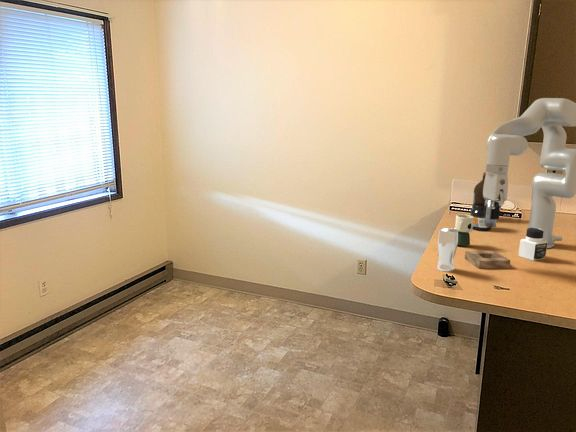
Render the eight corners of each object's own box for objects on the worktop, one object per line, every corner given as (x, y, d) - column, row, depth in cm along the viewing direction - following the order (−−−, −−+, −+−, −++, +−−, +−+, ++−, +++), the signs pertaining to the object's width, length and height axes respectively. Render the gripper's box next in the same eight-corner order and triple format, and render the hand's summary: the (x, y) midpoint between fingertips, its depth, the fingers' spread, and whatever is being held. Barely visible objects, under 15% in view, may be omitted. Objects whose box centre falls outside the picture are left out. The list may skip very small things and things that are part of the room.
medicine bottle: (533, 261, 195) (537, 231, 192) (518, 256, 201) (521, 227, 198) (545, 258, 198) (549, 229, 195) (529, 254, 204) (533, 225, 201)
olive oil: (495, 219, 264) (500, 172, 259) (488, 222, 256) (494, 174, 250) (474, 216, 271) (479, 170, 265) (468, 219, 263) (472, 172, 257)
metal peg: (492, 224, 190) (495, 198, 188) (497, 227, 186) (500, 200, 184) (482, 224, 190) (485, 198, 187) (487, 227, 186) (490, 200, 184)
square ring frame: (493, 258, 198) (494, 250, 197) (509, 267, 186) (510, 260, 186) (464, 258, 197) (465, 251, 196) (478, 268, 185) (479, 260, 184)
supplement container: (482, 232, 237) (484, 207, 234) (464, 227, 246) (466, 203, 243) (496, 229, 242) (499, 205, 240) (478, 225, 251) (481, 201, 248)
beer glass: (452, 273, 179) (456, 233, 176) (433, 269, 183) (436, 230, 179) (457, 268, 185) (461, 229, 182) (438, 264, 189) (441, 226, 185)
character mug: (466, 249, 209) (469, 219, 206) (449, 246, 212) (452, 217, 209) (473, 243, 217) (476, 215, 214) (457, 241, 221) (460, 212, 218)
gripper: (518, 172, 175) (512, 223, 179) (495, 166, 192) (489, 213, 196) (498, 172, 175) (492, 223, 179) (476, 166, 191) (471, 213, 195)
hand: (491, 217), depth 187 cm, fingers closed on metal peg, 4 cm apart
